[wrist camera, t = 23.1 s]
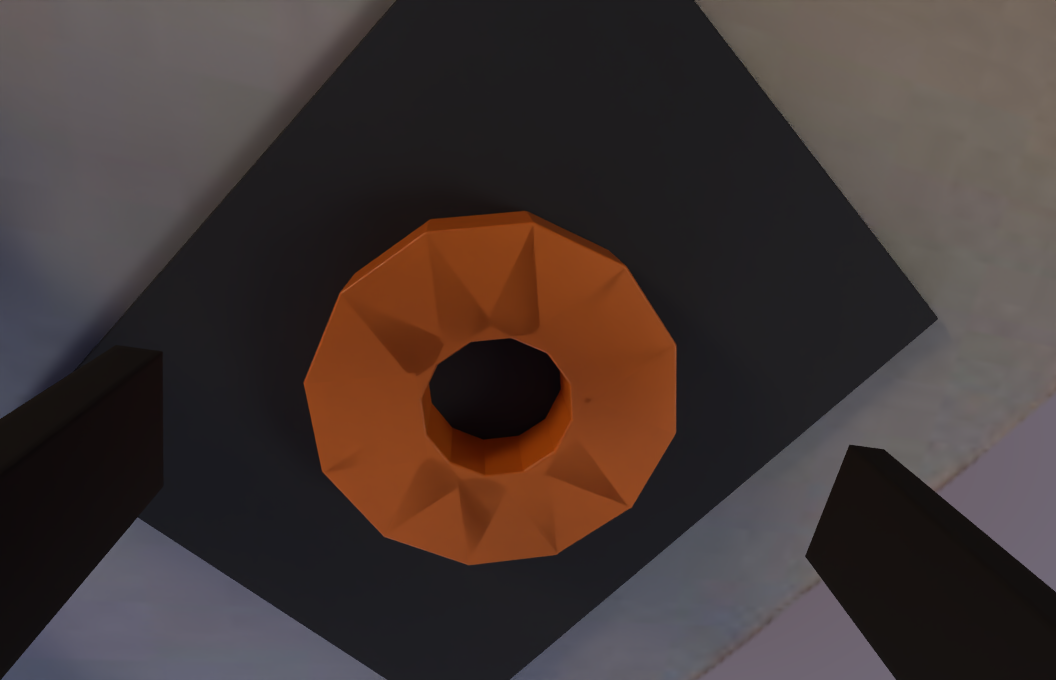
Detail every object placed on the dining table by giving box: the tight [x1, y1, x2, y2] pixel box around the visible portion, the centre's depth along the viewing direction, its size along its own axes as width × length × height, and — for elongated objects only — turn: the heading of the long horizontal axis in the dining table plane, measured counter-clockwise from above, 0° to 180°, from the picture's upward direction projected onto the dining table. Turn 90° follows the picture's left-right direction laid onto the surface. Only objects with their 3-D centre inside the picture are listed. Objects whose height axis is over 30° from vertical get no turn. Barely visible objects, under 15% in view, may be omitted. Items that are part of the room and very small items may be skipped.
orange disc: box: [304, 211, 677, 565], centre depth 16 cm, size 9×9×2 cm
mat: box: [75, 0, 938, 680], centre depth 18 cm, size 20×16×1 cm
